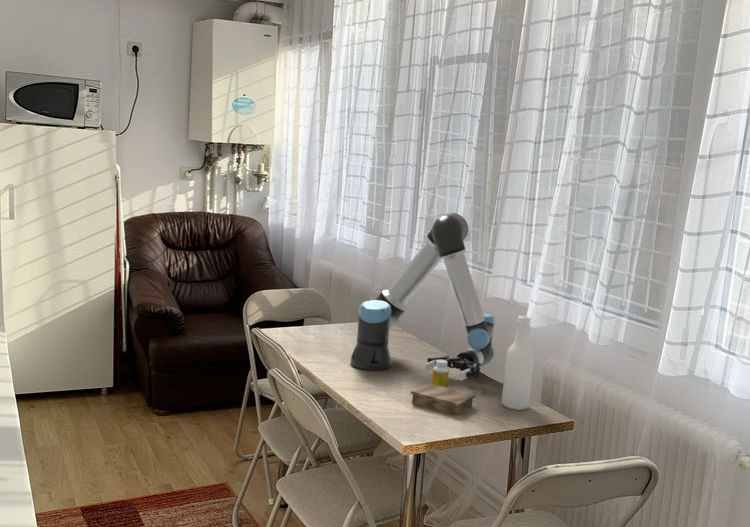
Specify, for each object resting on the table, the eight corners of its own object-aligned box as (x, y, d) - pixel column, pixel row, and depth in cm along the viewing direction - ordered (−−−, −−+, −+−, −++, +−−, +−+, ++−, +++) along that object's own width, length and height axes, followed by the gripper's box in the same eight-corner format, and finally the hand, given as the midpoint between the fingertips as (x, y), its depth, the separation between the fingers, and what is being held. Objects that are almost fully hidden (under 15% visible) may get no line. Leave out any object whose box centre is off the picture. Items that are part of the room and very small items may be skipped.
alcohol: (496, 401, 261) (506, 313, 256) (520, 401, 263) (530, 313, 258) (508, 410, 252) (518, 319, 248) (533, 410, 255) (543, 320, 250)
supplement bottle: (436, 391, 266) (439, 363, 265) (428, 386, 271) (430, 359, 270) (450, 390, 269) (452, 362, 268) (441, 385, 274) (444, 358, 272)
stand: (409, 403, 252) (410, 391, 252) (427, 394, 262) (428, 383, 262) (457, 416, 243) (458, 403, 243) (474, 407, 253) (475, 395, 253)
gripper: (500, 377, 281) (475, 391, 263) (438, 362, 294) (410, 374, 276) (502, 357, 280) (477, 369, 262) (439, 343, 293) (412, 354, 275)
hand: (442, 372), depth 269 cm, fingers open, 13 cm apart
